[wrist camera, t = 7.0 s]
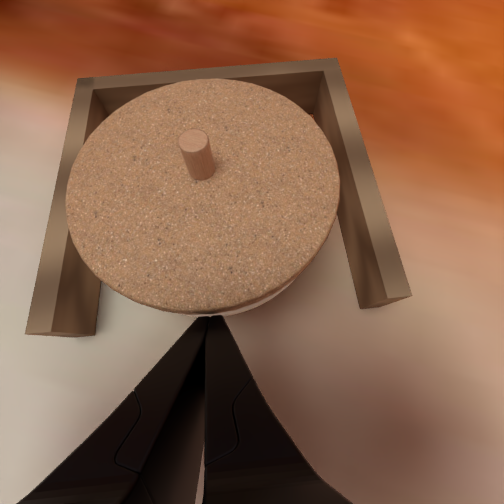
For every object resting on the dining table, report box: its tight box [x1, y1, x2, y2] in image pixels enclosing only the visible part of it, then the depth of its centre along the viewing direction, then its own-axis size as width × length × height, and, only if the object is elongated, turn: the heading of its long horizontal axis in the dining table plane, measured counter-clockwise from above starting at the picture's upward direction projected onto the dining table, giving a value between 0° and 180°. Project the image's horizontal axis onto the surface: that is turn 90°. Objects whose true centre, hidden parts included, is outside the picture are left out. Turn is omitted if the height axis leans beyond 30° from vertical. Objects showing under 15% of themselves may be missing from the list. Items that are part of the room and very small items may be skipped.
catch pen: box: [25, 58, 412, 337], centre depth 17 cm, size 17×18×4 cm
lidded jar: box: [65, 78, 340, 317], centre depth 13 cm, size 11×11×9 cm
